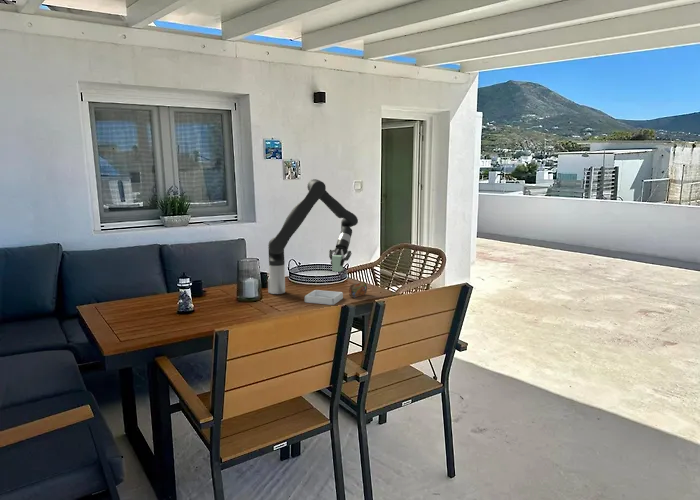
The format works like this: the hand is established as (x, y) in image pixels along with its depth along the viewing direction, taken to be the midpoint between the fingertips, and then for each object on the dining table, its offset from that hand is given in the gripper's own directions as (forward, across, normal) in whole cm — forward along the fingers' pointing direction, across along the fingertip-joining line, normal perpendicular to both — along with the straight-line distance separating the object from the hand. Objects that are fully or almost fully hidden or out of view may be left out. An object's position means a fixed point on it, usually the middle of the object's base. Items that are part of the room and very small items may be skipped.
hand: (336, 265), depth 283 cm
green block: (+1, 0, +4) cm, 4 cm away
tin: (+12, +13, +14) cm, 22 cm away
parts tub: (+23, -2, +2) cm, 24 cm away
